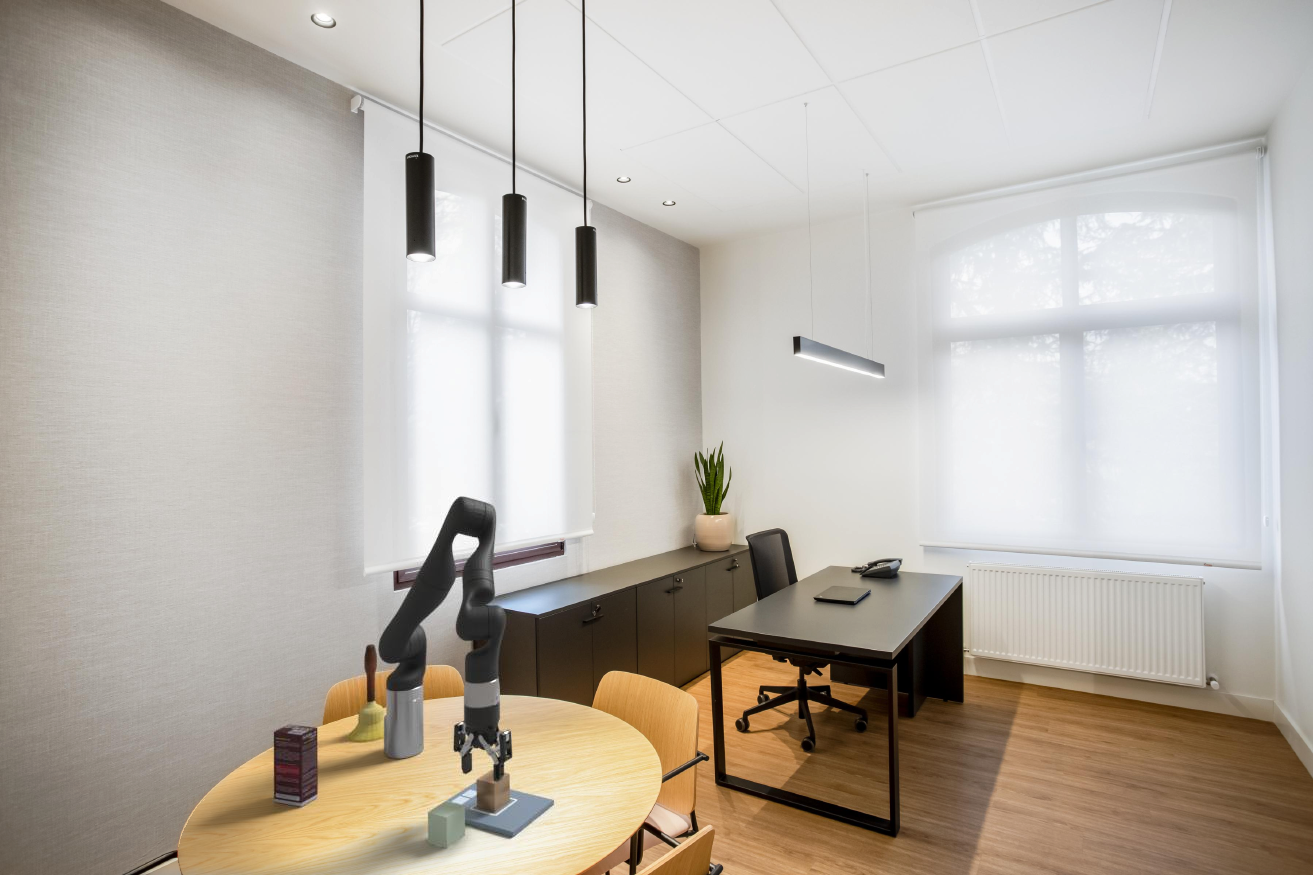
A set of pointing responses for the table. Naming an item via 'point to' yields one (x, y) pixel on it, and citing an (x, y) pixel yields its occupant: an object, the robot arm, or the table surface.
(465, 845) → the table surface
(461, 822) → the sage block
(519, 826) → the board
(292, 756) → the supplement box
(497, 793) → the walnut block
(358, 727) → the handbell
